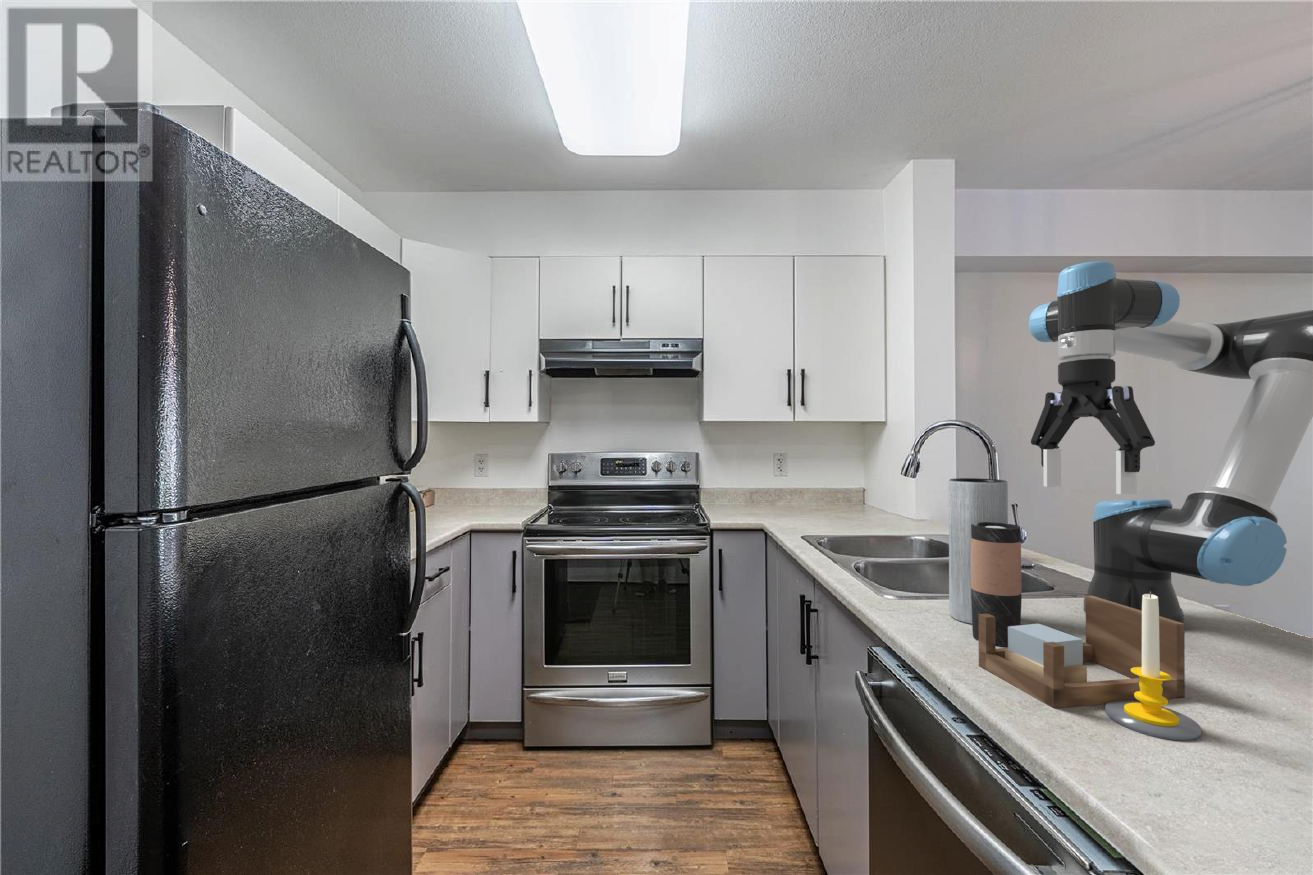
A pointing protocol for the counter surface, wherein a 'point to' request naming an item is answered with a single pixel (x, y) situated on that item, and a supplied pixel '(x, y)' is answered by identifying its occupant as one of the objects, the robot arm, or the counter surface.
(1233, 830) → the counter surface
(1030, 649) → the offcut upper
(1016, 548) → the travel mug
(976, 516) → the vase
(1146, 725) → the disc
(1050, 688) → the frame
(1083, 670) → the offcut lower
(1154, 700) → the candle
